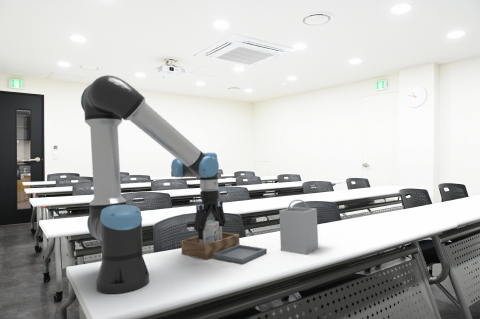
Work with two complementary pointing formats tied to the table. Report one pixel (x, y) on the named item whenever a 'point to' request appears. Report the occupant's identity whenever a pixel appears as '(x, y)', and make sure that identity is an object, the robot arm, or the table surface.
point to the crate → (208, 246)
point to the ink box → (211, 231)
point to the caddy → (298, 230)
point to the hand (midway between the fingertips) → (211, 244)
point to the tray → (240, 254)
